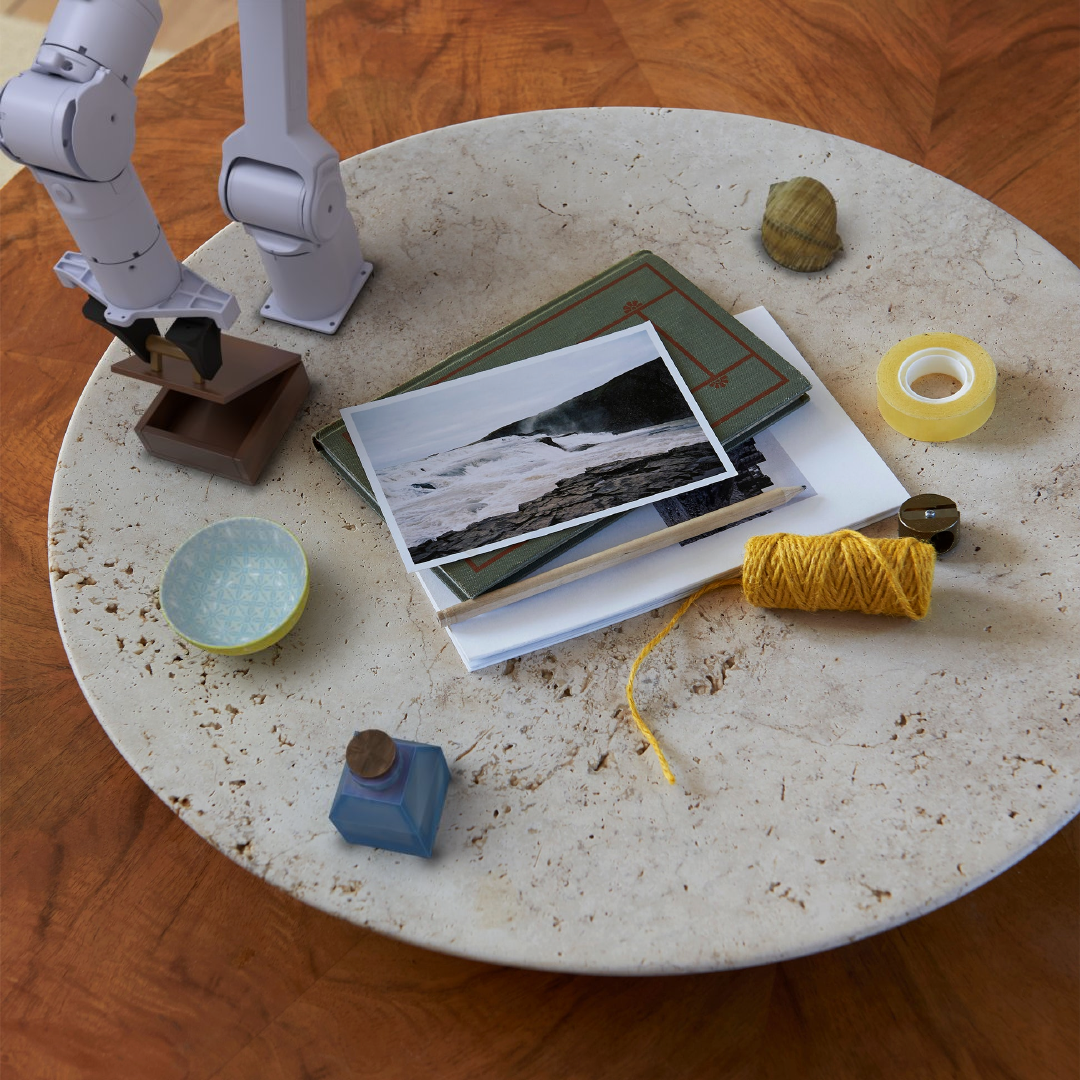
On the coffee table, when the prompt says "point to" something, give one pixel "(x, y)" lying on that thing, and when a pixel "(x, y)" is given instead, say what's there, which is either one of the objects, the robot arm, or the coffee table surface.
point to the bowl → (235, 585)
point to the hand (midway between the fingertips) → (183, 362)
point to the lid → (235, 377)
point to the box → (224, 426)
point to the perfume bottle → (391, 793)
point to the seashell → (801, 224)
